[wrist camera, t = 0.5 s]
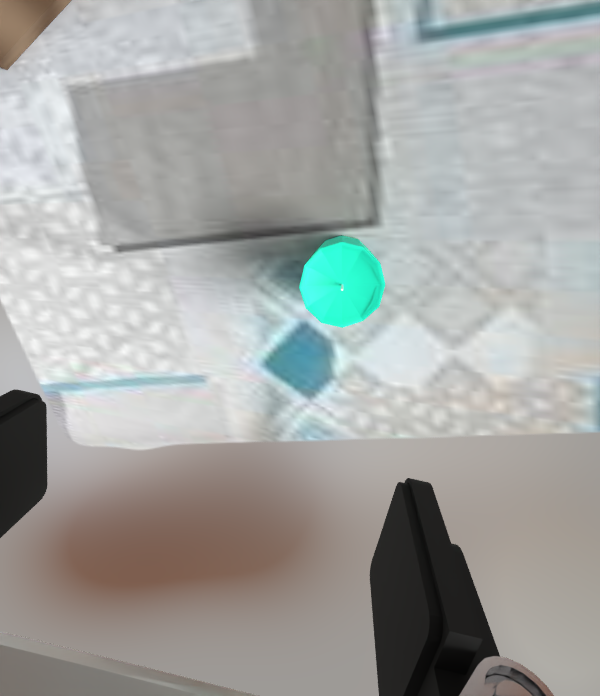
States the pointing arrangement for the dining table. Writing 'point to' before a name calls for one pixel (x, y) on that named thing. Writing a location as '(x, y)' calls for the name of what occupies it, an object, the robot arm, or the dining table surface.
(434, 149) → the dining table surface
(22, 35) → the board
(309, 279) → the candle
